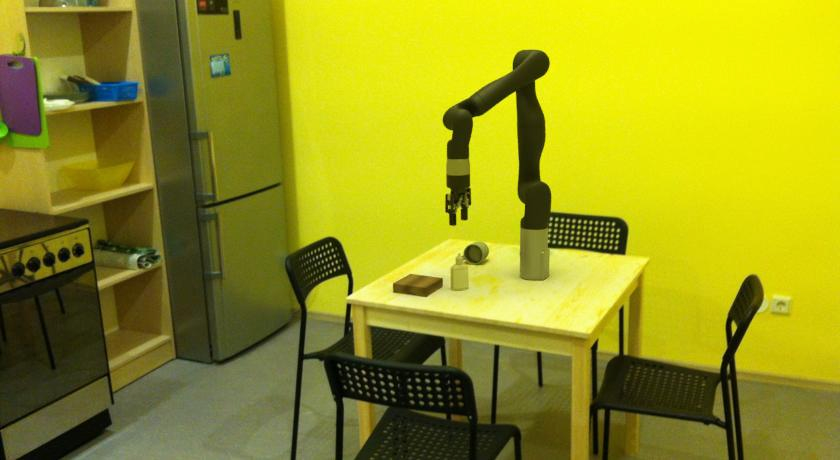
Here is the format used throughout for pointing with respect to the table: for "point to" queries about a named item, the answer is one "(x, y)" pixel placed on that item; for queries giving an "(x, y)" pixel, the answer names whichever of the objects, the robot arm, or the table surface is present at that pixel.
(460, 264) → the squeeze bottle
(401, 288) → the walnut plinth
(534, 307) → the table surface
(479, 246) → the ceramic mug
